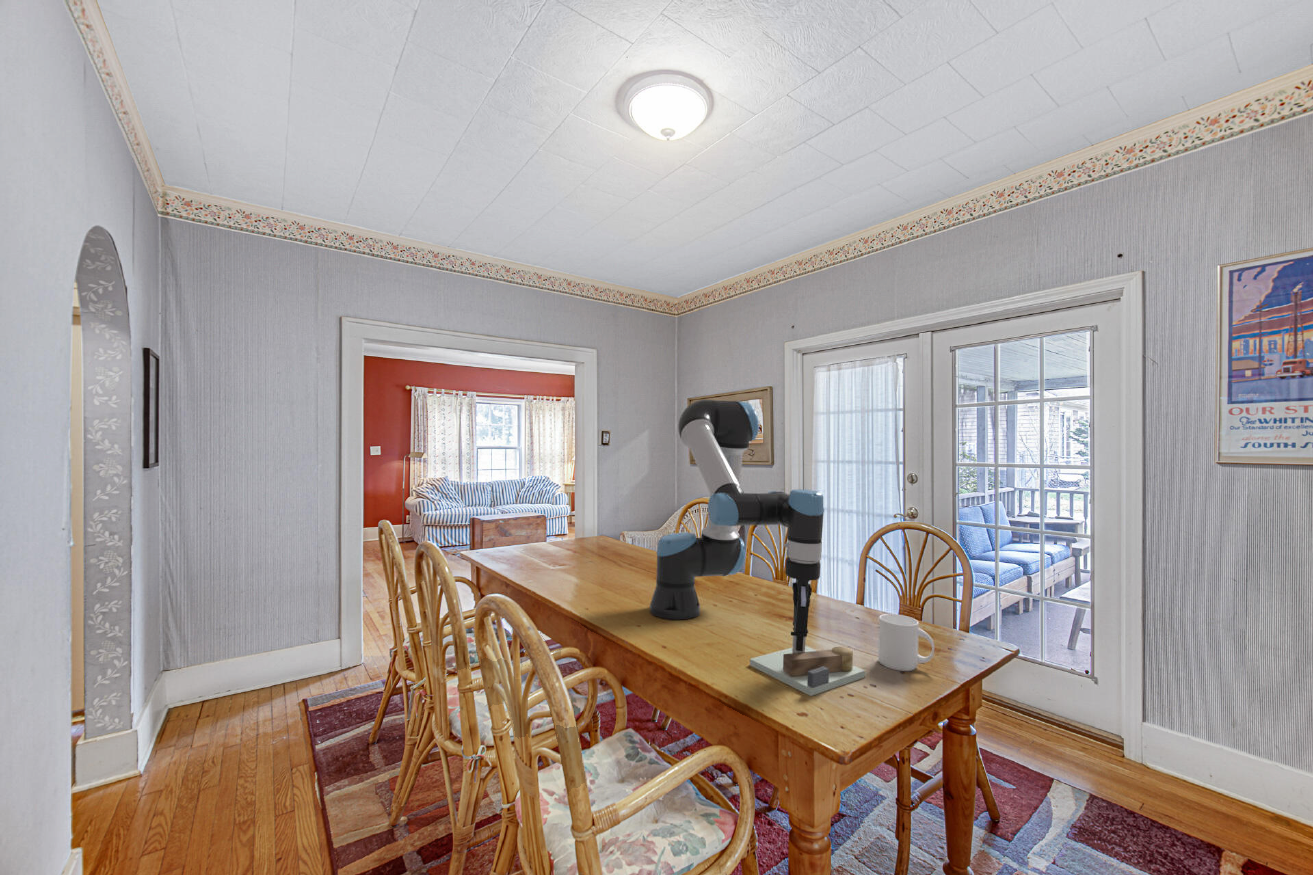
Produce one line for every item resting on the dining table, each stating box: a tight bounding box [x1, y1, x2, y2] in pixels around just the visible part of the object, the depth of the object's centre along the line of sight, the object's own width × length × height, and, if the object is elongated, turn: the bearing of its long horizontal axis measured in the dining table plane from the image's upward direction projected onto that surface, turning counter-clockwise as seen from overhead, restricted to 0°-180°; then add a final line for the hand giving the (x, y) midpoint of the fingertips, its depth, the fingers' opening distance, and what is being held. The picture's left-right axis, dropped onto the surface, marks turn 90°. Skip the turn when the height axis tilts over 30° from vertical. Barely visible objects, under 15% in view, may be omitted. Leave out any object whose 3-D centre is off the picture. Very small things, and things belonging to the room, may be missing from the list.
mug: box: [877, 613, 935, 672], centre depth 130 cm, size 9×12×11 cm
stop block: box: [807, 666, 829, 688], centre depth 115 cm, size 1×5×3 cm, turn 124°
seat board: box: [749, 645, 866, 697], centre depth 126 cm, size 18×18×2 cm
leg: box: [783, 646, 854, 677], centre depth 122 cm, size 16×4×4 cm, turn 107°
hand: (797, 662), depth 124 cm, fingers closed
